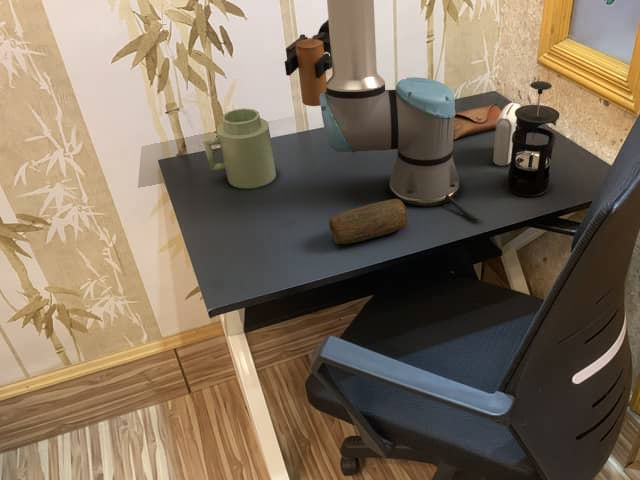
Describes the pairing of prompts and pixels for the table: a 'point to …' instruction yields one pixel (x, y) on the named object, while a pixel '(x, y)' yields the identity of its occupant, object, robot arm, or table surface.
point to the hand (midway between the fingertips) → (302, 69)
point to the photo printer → (505, 134)
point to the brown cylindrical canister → (310, 70)
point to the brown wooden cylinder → (368, 221)
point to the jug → (243, 149)
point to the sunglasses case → (475, 121)
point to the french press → (532, 148)
